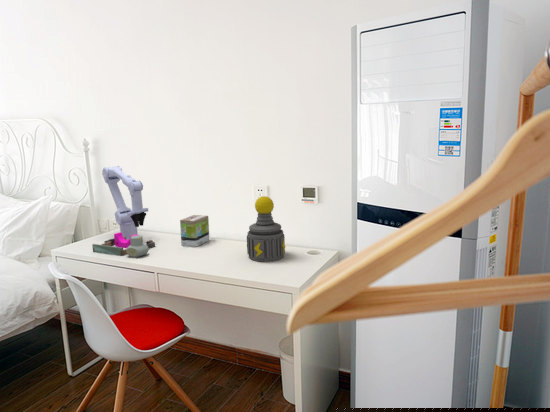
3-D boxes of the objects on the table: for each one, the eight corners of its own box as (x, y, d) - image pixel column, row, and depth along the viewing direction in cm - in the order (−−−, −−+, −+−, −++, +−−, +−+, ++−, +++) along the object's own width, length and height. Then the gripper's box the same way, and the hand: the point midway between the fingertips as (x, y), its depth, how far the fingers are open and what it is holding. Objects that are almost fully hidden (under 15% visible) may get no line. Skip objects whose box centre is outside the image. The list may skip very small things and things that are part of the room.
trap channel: (120, 240, 251) (119, 233, 250) (158, 245, 238) (158, 238, 237) (87, 250, 231) (87, 243, 230) (127, 256, 218) (127, 249, 217)
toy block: (143, 246, 236) (142, 233, 235) (134, 249, 231) (133, 236, 230) (124, 244, 244) (122, 231, 242) (115, 247, 238) (113, 233, 237)
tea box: (197, 247, 231) (195, 220, 228) (181, 246, 234) (179, 219, 231) (210, 240, 245) (208, 214, 242) (194, 239, 248) (192, 214, 245)
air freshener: (124, 257, 218) (122, 238, 216) (134, 252, 225) (133, 234, 224) (141, 258, 214) (139, 239, 212) (151, 254, 221) (150, 235, 220)
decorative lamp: (277, 263, 199) (275, 200, 193) (240, 260, 205) (237, 199, 200) (290, 252, 216) (288, 193, 210) (256, 249, 222) (253, 192, 217)
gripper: (132, 205, 233) (135, 229, 236) (151, 200, 246) (153, 223, 248) (123, 204, 236) (125, 228, 239) (142, 200, 249) (144, 223, 252)
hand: (139, 226), depth 244 cm, fingers open, 3 cm apart
